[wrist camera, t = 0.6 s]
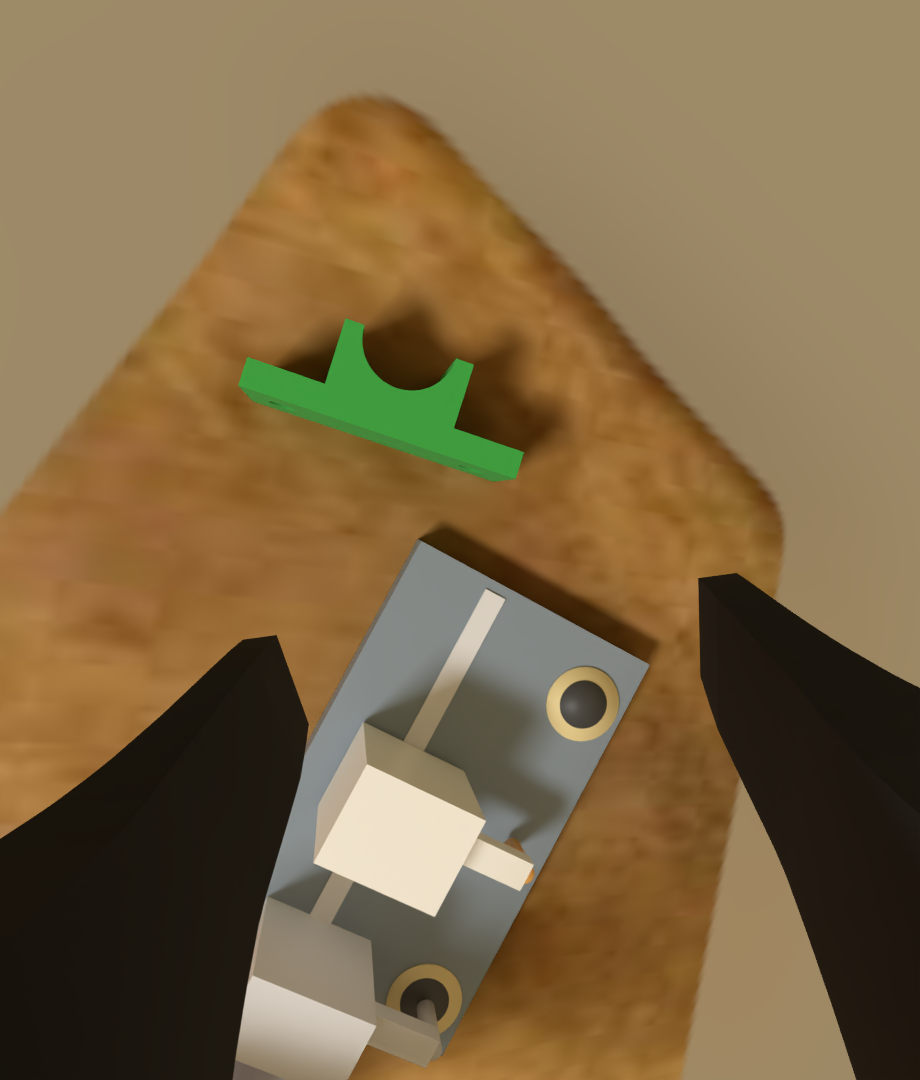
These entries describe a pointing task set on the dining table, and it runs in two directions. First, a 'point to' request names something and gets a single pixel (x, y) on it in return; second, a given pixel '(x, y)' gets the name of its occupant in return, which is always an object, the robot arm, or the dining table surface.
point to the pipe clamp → (384, 408)
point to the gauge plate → (497, 782)
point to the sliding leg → (408, 824)
